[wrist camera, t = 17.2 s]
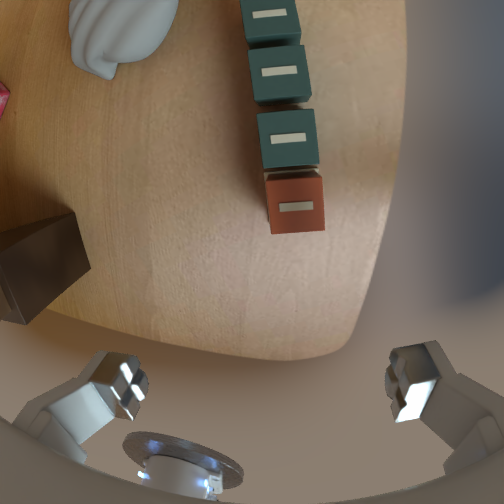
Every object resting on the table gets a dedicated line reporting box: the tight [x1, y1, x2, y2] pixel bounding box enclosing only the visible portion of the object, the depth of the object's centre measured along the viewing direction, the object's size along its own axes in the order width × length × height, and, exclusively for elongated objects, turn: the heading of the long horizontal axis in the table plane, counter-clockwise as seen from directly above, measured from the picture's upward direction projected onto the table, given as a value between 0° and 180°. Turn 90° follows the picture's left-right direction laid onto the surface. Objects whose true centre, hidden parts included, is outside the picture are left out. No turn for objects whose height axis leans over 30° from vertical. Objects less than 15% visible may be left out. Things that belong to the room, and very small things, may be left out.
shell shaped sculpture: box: [68, 0, 179, 80], centre depth 15 cm, size 13×13×6 cm
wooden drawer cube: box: [265, 171, 325, 234], centre depth 22 cm, size 4×4×4 cm
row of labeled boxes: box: [239, 0, 319, 223], centre depth 19 cm, size 19×5×4 cm, turn 7°
